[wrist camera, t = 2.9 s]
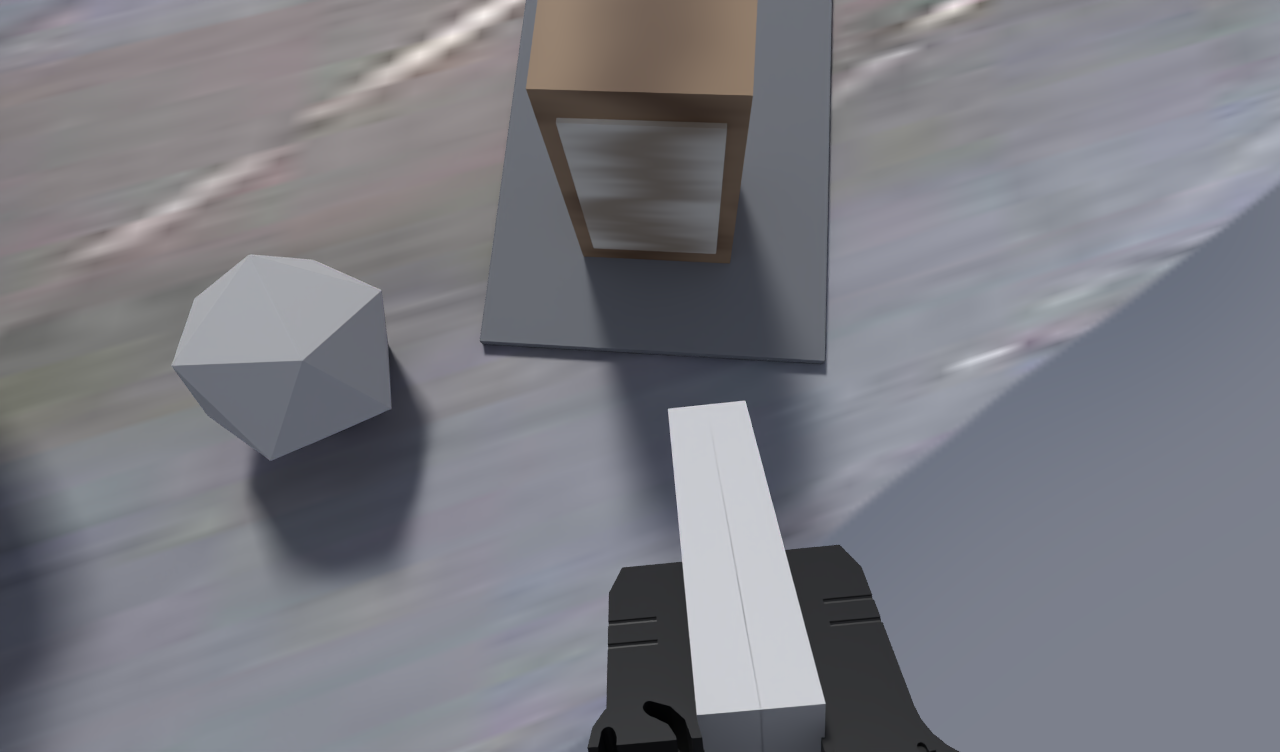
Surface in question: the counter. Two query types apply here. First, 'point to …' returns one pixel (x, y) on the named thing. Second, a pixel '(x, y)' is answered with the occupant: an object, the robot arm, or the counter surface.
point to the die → (286, 353)
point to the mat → (679, 290)
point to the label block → (646, 120)
